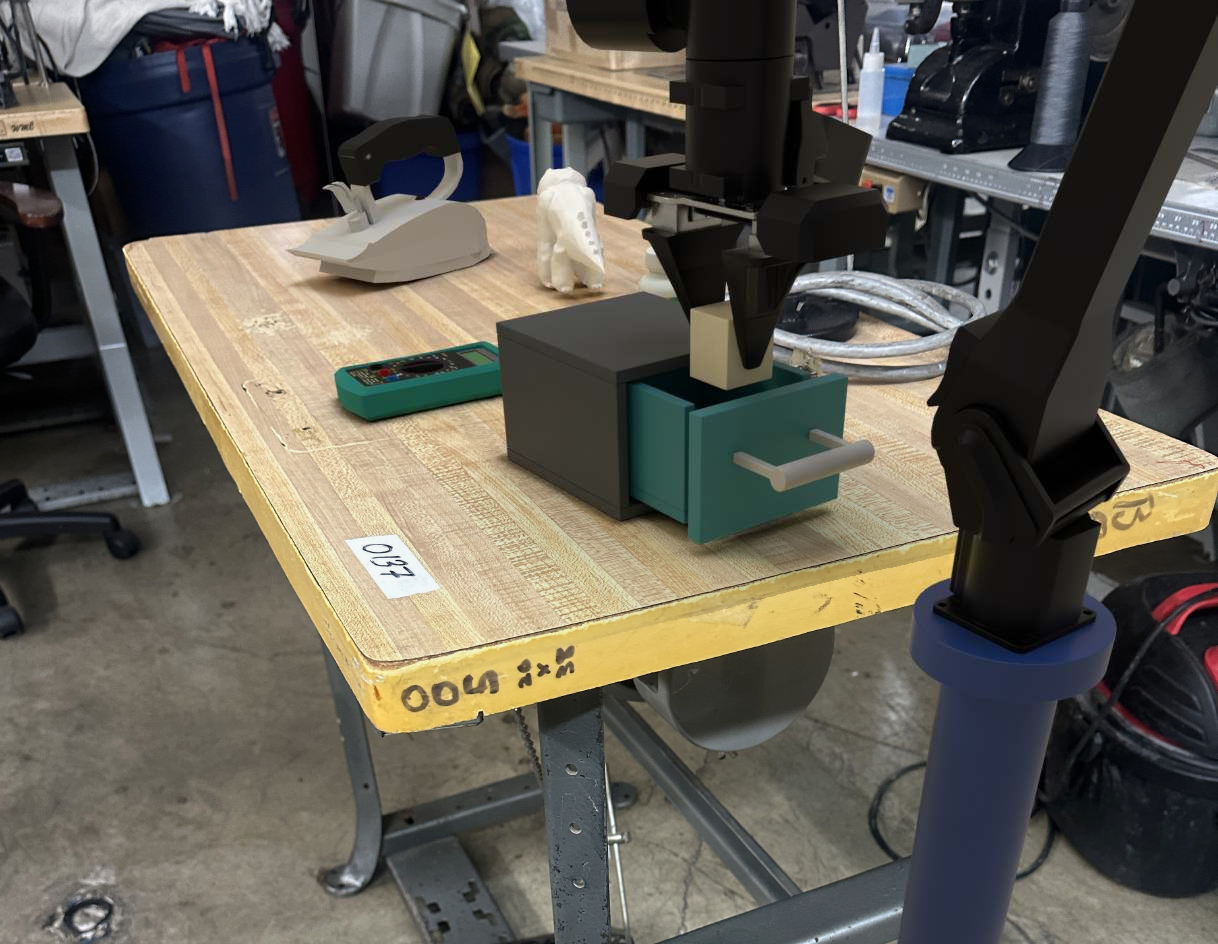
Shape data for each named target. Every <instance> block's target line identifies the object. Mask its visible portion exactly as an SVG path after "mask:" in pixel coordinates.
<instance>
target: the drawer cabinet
mask: <svg viewBox="0 0 1218 944" xmlns="http://www.w3.org/2000/svg"><path fill="white" fill-rule="evenodd" d="M495 330H496V341H497V347H498V352H499V363H500V375H501V386H502V394H501V395H502V397H501V398H502V406H503V419H504V420H503V421H504V429H505V440H506V456H507V459H508V460H510V461H512V462H513V463H515V464H517V465H519V466H521V467H523V468H524V469H526V470H528V471H530V472H532V473H533V474H535V475H536V476H538V477H540V478H542V479H544V480H546V481H547V482H550V483H551V484H553V485H555V486H557V487H558V488H560V489H562V490H563V491H565V492H567V493H569V494H571V495H573V496H575V497H576V498H578V499H580V500H582V502H583V501H584V502H585V503H587V504H589V505H591V506H592V507H594V508H595V509H596V508H597V509H598V510H600V511H601V512H603V513H605V514H607V515H608V516H610V517H612V518H614V519H616V520H617V521H619V522H622V521H625V520H628V519H631V518H635V517H638V516H641V515H644V514H647V513H650V512H654V511H658V510H657V509H655V508H653V507H651V506H649V505H647V504H645V503H643V502H642V501H640V500H638V499H636V498H634V497H632V496H630V495H629V476H628V434H627V391H626V382H629V381H633V380H637V379H641V378H645V377H649V376H652V375H656V374H660V373H664V372H668V371H672V370H676V369H680V368H684V367H688V366H690V325H689V322H688V320H687V318H686V316H685V313H684V311H683V309H682V307H681V304H680V303H679V302H676V301H673V300H669V299H666V298H663V297H660V296H657V295H654V294H651V293H648V292H645V291H642V292H638V291H637V292H633V293H632V292H631V293H627V294H622V295H618V296H614V297H609V298H605V299H604V298H603V299H599V300H595V301H590V302H584V303H580V304H575V305H571V306H566V307H562V308H561V307H560V308H557V309H553V310H549V311H547V310H546V311H543V312H538V313H534V314H528V315H524V316H518V317H515V318H510V319H505V320H500V321H496V322H495Z"/></svg>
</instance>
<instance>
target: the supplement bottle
mask: <svg viewBox="0 0 1218 944" xmlns="http://www.w3.org/2000/svg"><path fill="white" fill-rule="evenodd" d="M644 265H645V266H646V267H645V268H646V269H647V270H648V273H646V274H645V275H643V277H641V279H640V280H639V283H638V287H637V289H638V291H637V292H642V291H645V292H648V293H651V294H654V295H657V296H660V297H663V298H666V299H669V300H673V301H676V302H679V300H678V298H677V296H676V294H675V291H674V289H673V287H672V285H671V283H670V281H669V279H668V277H667V275H666V273H665V271H664V269H663V267H662V265H661V264H660V262H659V260H658V258H657V256H656V254H655V252H654V250H653V248H652V246H650V247H648V248H646V249H645V263H644ZM679 303H680V302H679Z"/></svg>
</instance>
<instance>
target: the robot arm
mask: <svg viewBox="0 0 1218 944" xmlns="http://www.w3.org/2000/svg"><path fill="white" fill-rule="evenodd" d="M565 5H566V11H567V13H568V18H569V21H570V24H571V25H572V28H573V29H574V31H575V33H576V35H577V36H578V38H579V39H580V40H581V41H582V42H583V43H584V45H587V46H588V47H589V48H591V49H595V50H598V51H616V52H617V51H618V52H620V51H621V52H639V53H640V52H641V53H665V54H675V53H677V52H680V51H682V50H684V49H685V78H683V79H674V80H669V81H668V91H669V92H668V93H669V94H668V100H669V101H668V102H669V104H678V105H685V108H684V109H685V111H684V113H685V114H684V115H685V117H684V120H685V121H684V122H685V125H684V129H685V130H684V131H685V132H684V135H685V136H684V137H685V138H684V141H685V142H684V154H680V153H675V152H670V153H664V154H663V153H662V154H657V155H650V156H642V157H637V158H631V159H624V160H617V161H614V162H613V163H612V165H611V167H610V168H609V170H608V171H607V173H606V175H605V176H604V178H603V180H602V194H603V195H602V199H603V201H602V202H603V215H605V216H608V217H612V218H616V219H621V220H623V221H624V220H625V221H633V220H636V219H637V218H638V216H639V214H640V213H641V211H642V210H644V209H648V208H649V209H650V208H651V226H650V227H645V228H642V229H641V237H642V240H645V241H647V242H648V243H649V244H650V247H652V248H653V250H654V252H655V254H656V256H657V258H658V260H659V262H660V264H661V265H662V267H663V269H664V271H665V273H666V275H667V277H668V279H669V281H670V283H671V285H672V287H673V289H674V291H675V294H676V296H677V298H678V300H679V302H680V304H681V307H682V309H683V311H684V313H685V316H686V318H687V320H688V322H689V325H690V316H691V309H692V308H696V307H701V306H705V305H709V304H714V303H718V302H723V301H726V293H727V292H728V297H729V299H728V300H730V305H731V310H732V316H733V322H734V328H735V334H736V340H737V345H738V349H739V353H740V357H741V361H742V365H743V368H744V369H747V370H751V369H755V368H758V367H760V365H761V364H762V361H763V359H764V356H765V353H766V351H767V348H768V345H769V343H770V340H771V338H772V335H773V332H774V333H775V329H776V327H777V324H778V322H779V319H780V317H781V314H782V311H783V309H784V306H785V304H786V301H787V299H788V297H789V295H790V292H791V291H792V288H793V286H794V285H795V282H796V280H797V278H798V277H799V275H800V274H801V272H802V271H803V270H804V269H805V268H807V266H808V265H809V264H816V263H821V262H825V261H831V260H834V259H839V258H844V257H848V256H852V255H858V254H862V253H866V252H872V251H876V250H881V249H886V243H887V232H888V222H889V212H890V211H889V210H890V209H889V208H890V207H889V204H888V202H887V201H886V199H885V197H884V196H883V194H882V193H881V191H880V190H879V189H878V188H873V187H868V186H862V185H859V184H860V180H861V177H862V175H863V171H864V168H865V164H866V161H867V158H868V154H869V152H870V148H871V146H872V145H871V144H872V142H873V138H874V136H873V135H872V134H871V133H869V132H866V131H865V130H862V129H860V128H858V127H855V126H853V125H850V124H849V123H846V122H844V121H842V120H839V119H837V118H835V117H832V116H829V115H826V114H823V113H820V112H819V111H816V110H814V109H813V95H814V89H813V85H812V84H811V82H810V81H811V80H810V79H811V77H810V76H808V75H795V74H794V68H795V67H794V66H795V48H796V47H795V46H796V26H797V12H798V11H797V9H798V8H797V7H798V0H565ZM1217 88H1218V0H1132V1H1131V3H1130V5H1129V8H1128V11H1127V13H1126V16H1125V18H1124V21H1123V23H1122V25H1121V28H1120V31H1119V33H1118V36H1117V38H1116V41H1115V43H1114V46H1113V49H1112V51H1111V53H1110V55H1109V58H1108V61H1107V64H1106V66H1105V69H1104V71H1103V74H1102V76H1101V79H1100V81H1099V84H1098V87H1097V89H1096V91H1095V93H1094V97H1093V99H1092V102H1091V104H1090V107H1089V109H1088V112H1087V115H1086V117H1085V119H1084V121H1083V125H1082V127H1081V130H1080V132H1079V134H1078V137H1077V140H1076V142H1075V145H1074V147H1073V150H1072V152H1071V154H1070V157H1069V160H1068V162H1067V165H1066V166H1065V167H1066V168H1065V170H1064V172H1063V175H1062V177H1061V180H1060V183H1059V185H1058V187H1057V190H1056V192H1055V194H1054V198H1053V201H1052V203H1051V206H1050V208H1049V209H1048V213H1047V215H1046V218H1045V221H1044V223H1043V226H1042V228H1041V231H1040V233H1039V235H1038V238H1037V241H1036V243H1035V246H1034V248H1033V250H1032V253H1031V256H1030V259H1029V261H1028V263H1027V266H1026V269H1025V271H1024V274H1023V277H1022V279H1021V282H1020V283H1019V286H1018V289H1017V291H1016V293H1015V295H1014V296H1013V298H1012V299H1011V301H1010V302H1009V304H1008V305H1007V306H1006V307H1004V308H1001V309H998V310H996V311H994V312H991V313H989V314H987V315H984V316H983V317H980V318H977V319H975V320H972V321H971V322H968V323H965V324H962V325H960V326H959V327H957V329H956V331H955V333H954V335H953V338H952V340H951V342H950V346H949V349H948V354H947V360H946V365H945V369H944V373H943V375H942V378H941V380H940V382H939V384H938V386H937V388H936V390H935V391H934V392H933V393H932V394H931V395H930V396H929V398H927V400H926V406H927V407H928V408H933V407H937V409H936V411H935V413H934V415H933V418H932V423H931V428H930V445H931V447H932V449H933V450H935V452H936V455H937V458H938V461H939V463H940V465H941V467H942V469H943V472H944V478H945V484H946V491H947V496H948V502H949V508H950V512H951V518H952V524H953V526H954V527H955V528H957V529H958V530H957V531H958V532H957V537H956V543H955V549H954V555H953V561H952V567H951V573H950V578H951V579H950V586H949V588H950V591H951V592H952V593H953V595H951V596H949V597H946V598H944V599H941V600H939V601H936V602H935V603H934V604H933V613H935V614H936V615H939V616H941V617H943V618H945V619H947V620H949V621H951V622H953V623H955V624H957V625H959V626H961V627H963V628H965V629H967V630H969V631H971V632H973V633H975V634H977V635H979V636H981V637H983V638H985V639H987V640H989V641H991V642H993V643H995V644H997V645H999V646H1001V647H1003V648H1005V649H1007V650H1009V651H1011V652H1013V653H1016V654H1026V653H1029V652H1031V651H1033V650H1035V649H1038V648H1040V647H1042V646H1044V645H1046V644H1048V643H1051V642H1053V641H1055V640H1057V639H1059V638H1062V637H1064V636H1066V635H1068V634H1070V633H1072V632H1075V631H1077V630H1079V629H1081V628H1083V627H1086V626H1088V625H1090V624H1092V623H1094V622H1095V621H1096V617H1097V613H1096V611H1094V610H1092V609H1089V608H1087V607H1085V606H1083V601H1084V597H1085V593H1087V588H1088V583H1089V581H1090V575H1091V571H1092V567H1093V563H1094V558H1095V555H1096V550H1097V547H1098V541H1099V537H1100V533H1101V530H1102V526H1103V524H1102V522H1100V521H1098V520H1095V519H1093V518H1092V517H1091V514H1090V511H1092V510H1093V509H1095V508H1096V507H1098V506H1100V505H1101V504H1102V503H1107V502H1109V501H1111V500H1112V499H1113V498H1114V496H1115V495H1116V493H1117V492H1118V490H1119V489H1120V487H1121V486H1122V485H1123V484H1124V481H1125V480H1126V478H1127V477H1128V475H1129V474H1130V472H1131V465H1130V463H1129V461H1128V460H1127V458H1126V456H1125V455H1124V453H1123V451H1122V450H1121V448H1120V446H1119V445H1118V443H1117V441H1116V440H1115V439H1114V436H1113V435H1112V433H1111V432H1110V430H1109V429H1108V427H1107V426H1106V424H1105V422H1104V421H1103V419H1102V417H1101V415H1100V414H1099V409H1100V406H1101V402H1102V399H1103V395H1104V391H1105V388H1106V385H1107V382H1108V378H1109V374H1110V371H1111V366H1112V351H1113V350H1112V348H1113V347H1112V345H1113V343H1112V342H1113V321H1114V315H1115V312H1116V309H1117V306H1118V303H1119V301H1120V298H1121V297H1122V295H1123V293H1124V290H1125V288H1126V285H1127V283H1128V281H1129V279H1130V276H1131V275H1132V272H1133V270H1134V268H1135V266H1136V264H1137V262H1138V259H1139V257H1140V255H1141V254H1142V251H1143V249H1144V247H1145V245H1146V242H1147V240H1148V239H1149V236H1150V234H1151V231H1152V229H1153V227H1154V225H1155V223H1156V220H1157V219H1158V216H1159V214H1160V212H1161V210H1162V207H1163V206H1164V203H1165V201H1166V199H1167V197H1168V194H1169V193H1170V190H1171V188H1172V186H1173V184H1174V183H1175V180H1176V178H1177V175H1178V173H1179V171H1180V169H1181V167H1182V165H1183V162H1184V160H1185V157H1186V156H1187V153H1188V152H1189V149H1190V147H1191V145H1192V142H1193V140H1194V138H1195V137H1196V134H1197V132H1198V130H1199V128H1200V125H1201V123H1202V121H1203V119H1204V117H1205V115H1206V112H1207V110H1208V108H1209V106H1210V104H1211V101H1212V99H1213V97H1214V95H1215V92H1216V90H1217ZM792 187H793V188H792ZM786 188H787V189H786ZM721 200H724V201H721ZM747 205H749V206H750V207H749V206H747ZM751 206H752V207H751ZM746 226H750V227H751V233H748V238H747V240H748V242H747V245H746V246H741V247H736V248H734V247H735V245H736V243H737V241H738V240H739V238H740V236H741V234H742V233H743V231H744V230H745V228H746ZM726 290H727V291H726Z"/></svg>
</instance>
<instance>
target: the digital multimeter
mask: <svg viewBox="0 0 1218 944" xmlns="http://www.w3.org/2000/svg"><path fill="white" fill-rule="evenodd" d="M333 376H334V382H335V383H334V384H335V389H336V394H337V399H338V401H339V403H340V406H342V408H344V409H345V410H347V411H349V412H351V413H353V414H355V415H357V416H359V417H361V418H362V419H365V420H367V421H369V422H373V421H377V420H382V419H386V418H391V417H392V418H393V417H396V416H401V415H406V414H411V413H415V412H420V411H425V410H429V409H434V408H439V407H445V406H449V405H455V404H459V403H464V402H468V401H473V400H478V399H483V398H488V397H493V396H497V395H502V386H501V375H500V363H499V352H498V345H494V344H493V343H491V342H488V341H485V340H481V341H475V342H471V343H466V344H462V345H456V346H451V347H448V348H447V347H446V348H442V349H438V350H433V351H426V352H421V353H418V354H417V353H416V354H411V355H406V356H401V357H396V358H389V359H383V360H378V361H372V362H366V363H359V364H355V365H353V364H352V365H348V366H342V367H339V368H338V370H336V371H335V372H334V373H333Z"/></svg>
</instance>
